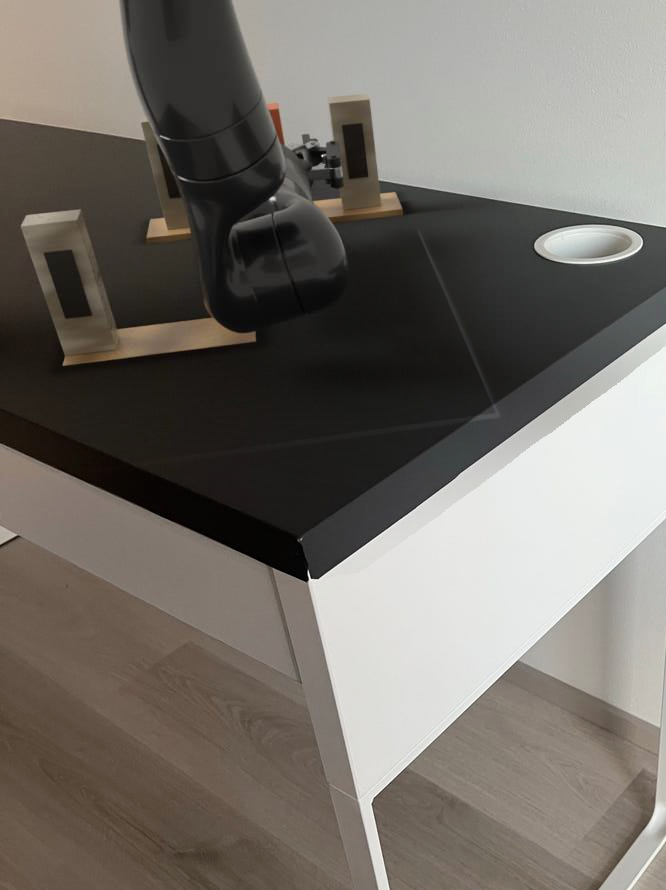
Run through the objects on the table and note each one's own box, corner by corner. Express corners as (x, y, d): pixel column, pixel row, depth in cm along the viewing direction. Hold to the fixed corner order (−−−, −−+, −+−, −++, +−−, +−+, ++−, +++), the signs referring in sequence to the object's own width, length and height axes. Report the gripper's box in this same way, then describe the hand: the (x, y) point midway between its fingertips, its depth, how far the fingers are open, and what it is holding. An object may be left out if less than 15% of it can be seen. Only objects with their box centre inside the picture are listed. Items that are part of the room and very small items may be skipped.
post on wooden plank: (66, 377, 78) (16, 233, 71) (75, 346, 82) (29, 208, 75) (258, 352, 79) (228, 209, 72) (257, 323, 84) (229, 186, 77)
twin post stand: (148, 247, 100) (117, 128, 93) (152, 228, 105) (122, 113, 97) (403, 218, 103) (391, 100, 96) (396, 201, 107) (384, 87, 100)
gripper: (345, 142, 80) (330, 98, 92) (167, 161, 79) (175, 114, 91) (358, 237, 85) (342, 184, 97) (189, 257, 83) (195, 200, 96)
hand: (261, 150), depth 94 cm, fingers open, 8 cm apart
